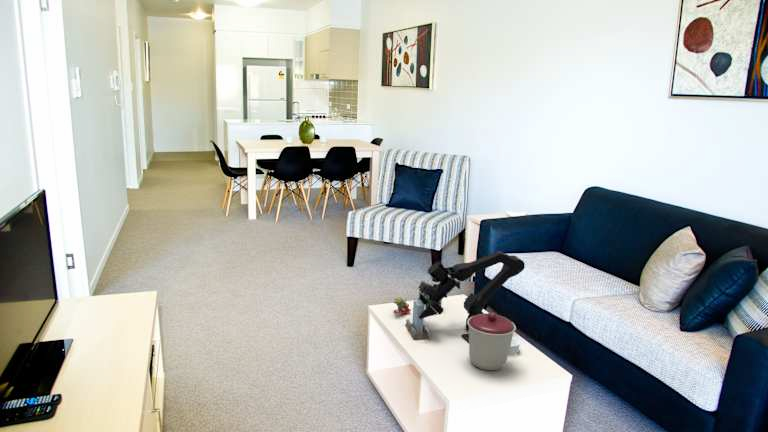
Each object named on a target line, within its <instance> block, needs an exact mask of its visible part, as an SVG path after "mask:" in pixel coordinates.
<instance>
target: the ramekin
mask: <svg viewBox="0 0 768 432" xmlns="http://www.w3.org/2000/svg"><path fill="white" fill-rule="evenodd" d="M520 345H521V342H520V340H518V339H517V338H515V337H512V341H511V345H510V349H509V353H508V356H515V355H517V354H518V353H519V348H520Z"/></svg>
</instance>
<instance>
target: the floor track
mask: <svg viewBox="0 0 768 432" xmlns="http://www.w3.org/2000/svg"><path fill="white" fill-rule="evenodd" d="M405 322H406V323H405V328H406V330H407V331H408V333H409V334H410V336H411V339H412V340H413V341H421V340H424V341H425V340H430V339H431V337H430V332H429V329H427V327H426V326H425V324H424V323H423V333H417V332H416V331H415V329H414V327H413V326H412V322H411V321H410V319H409V318H408V319H406V321H405Z"/></svg>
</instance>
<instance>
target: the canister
mask: <svg viewBox="0 0 768 432" xmlns="http://www.w3.org/2000/svg"><path fill="white" fill-rule="evenodd" d="M467 324H468V326H469V331H468V333H469V344H468V353H469V358H470V362H471V363H472V364H473V365H474V366H475V367H476V368H478V369H481V370H485V371H498V370H500V369H502V368H503V367H504V366H505V365H506V363H507V360H508V357H509V355H508V353H509V349H510V345H511V341H512V338H514V337H513V336H514V333H515V332H516V330H517V327H516V325H515V323H514V322H513V321H511V319H509V318H507V317H505V316H503V315H498V314H497V313H496V312H494V311H490V312H488V313H484V314H477V315H475V316H472V317H470V318H469V319H468V320H467Z"/></svg>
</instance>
